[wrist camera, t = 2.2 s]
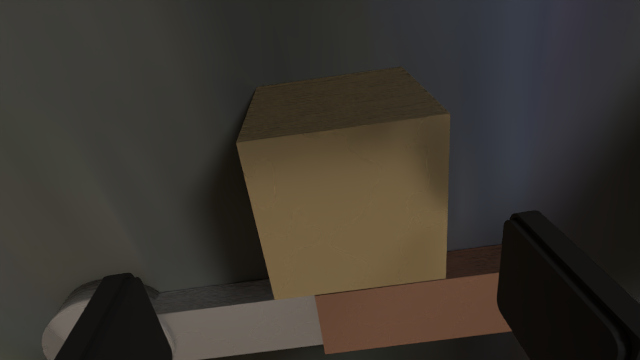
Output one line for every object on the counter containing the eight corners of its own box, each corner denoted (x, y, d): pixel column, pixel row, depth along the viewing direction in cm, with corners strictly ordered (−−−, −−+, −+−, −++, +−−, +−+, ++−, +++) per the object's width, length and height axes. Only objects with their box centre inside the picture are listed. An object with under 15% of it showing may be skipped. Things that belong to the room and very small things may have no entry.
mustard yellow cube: (401, 66, 16) (450, 113, 11) (405, 192, 19) (445, 278, 14) (256, 86, 16) (235, 143, 11) (282, 209, 19) (274, 300, 14)
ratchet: (504, 227, 20) (569, 307, 15) (495, 316, 23) (546, 408, 18) (42, 287, 21) (-37, 383, 16) (90, 366, 24) (36, 468, 19)
